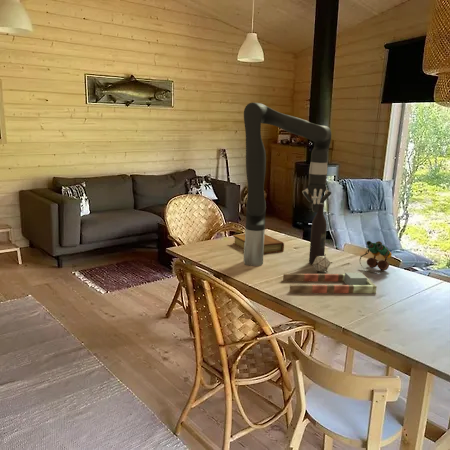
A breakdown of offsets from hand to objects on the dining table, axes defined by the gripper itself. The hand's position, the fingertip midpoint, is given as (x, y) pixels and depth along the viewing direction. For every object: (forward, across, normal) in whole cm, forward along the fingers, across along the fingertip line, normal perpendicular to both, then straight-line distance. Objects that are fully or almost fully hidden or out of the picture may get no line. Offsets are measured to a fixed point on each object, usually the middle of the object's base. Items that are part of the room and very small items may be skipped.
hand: (315, 212), depth 196 cm
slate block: (+29, +16, -13) cm, 36 cm away
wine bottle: (+29, +7, +16) cm, 34 cm away
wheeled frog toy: (+29, +34, +8) cm, 46 cm away
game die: (+29, +6, +4) cm, 30 cm away
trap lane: (+29, +4, -15) cm, 33 cm away
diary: (+30, -18, +44) cm, 56 cm away
